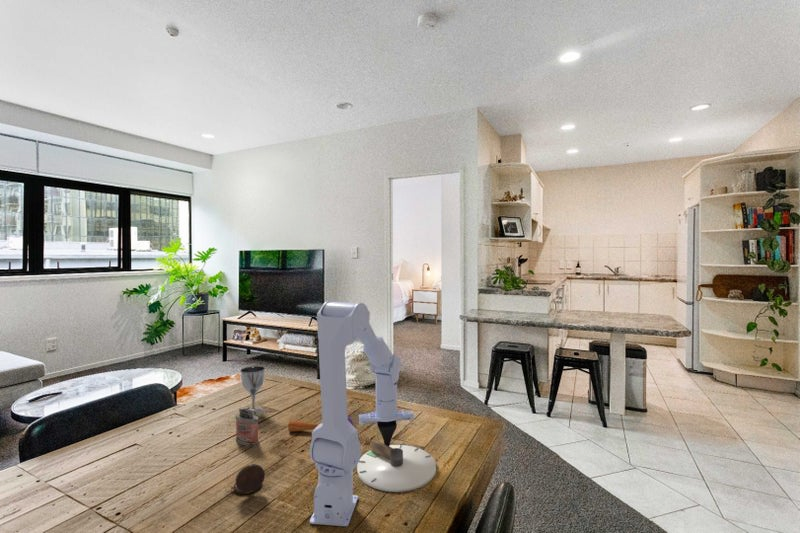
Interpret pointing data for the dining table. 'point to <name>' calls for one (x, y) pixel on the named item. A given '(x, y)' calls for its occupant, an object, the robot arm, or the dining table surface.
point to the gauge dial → (397, 470)
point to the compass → (249, 479)
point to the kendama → (305, 425)
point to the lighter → (247, 427)
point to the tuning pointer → (388, 452)
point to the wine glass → (253, 382)
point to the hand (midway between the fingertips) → (386, 448)
